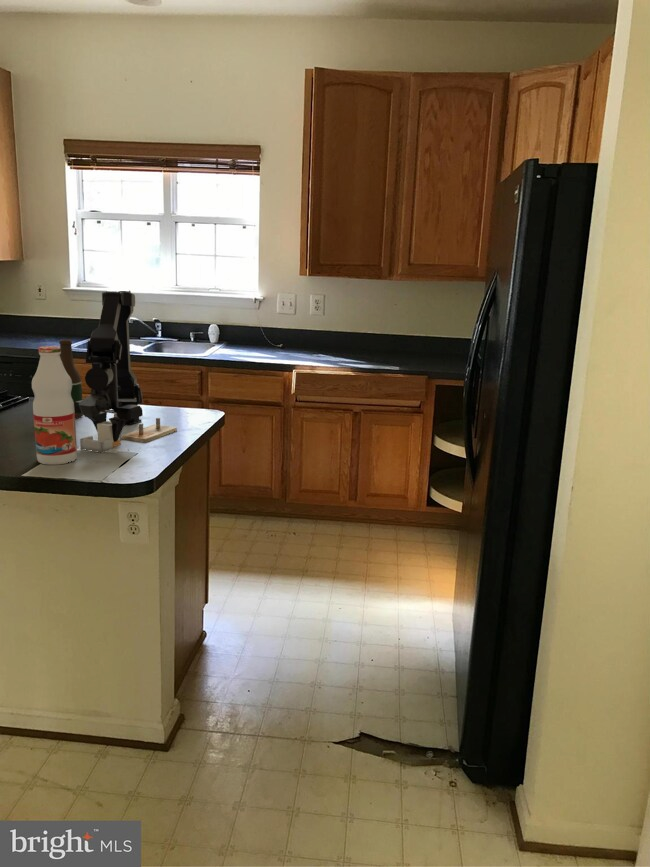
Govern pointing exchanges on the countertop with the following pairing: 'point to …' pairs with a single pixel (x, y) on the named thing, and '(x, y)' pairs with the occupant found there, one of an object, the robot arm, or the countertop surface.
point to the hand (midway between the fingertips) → (108, 440)
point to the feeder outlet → (95, 444)
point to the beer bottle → (71, 371)
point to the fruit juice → (53, 410)
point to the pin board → (149, 432)
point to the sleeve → (106, 432)
